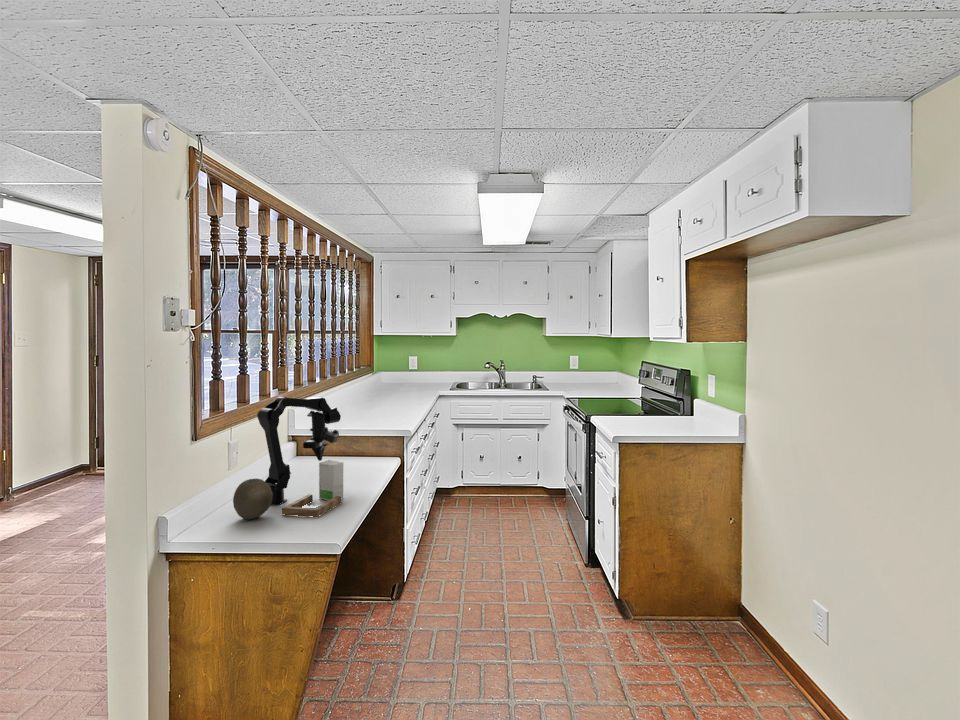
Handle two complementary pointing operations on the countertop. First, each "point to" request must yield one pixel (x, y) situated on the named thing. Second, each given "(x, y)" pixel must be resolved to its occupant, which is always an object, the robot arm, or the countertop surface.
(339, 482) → the skincare box
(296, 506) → the wooden tray
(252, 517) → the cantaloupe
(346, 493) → the countertop surface
